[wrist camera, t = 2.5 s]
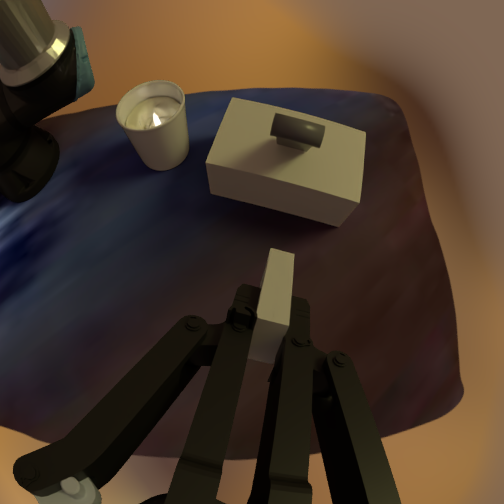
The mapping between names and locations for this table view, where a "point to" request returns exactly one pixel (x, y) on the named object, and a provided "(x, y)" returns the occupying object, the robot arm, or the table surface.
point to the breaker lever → (296, 132)
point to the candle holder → (156, 123)
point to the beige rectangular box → (286, 165)
